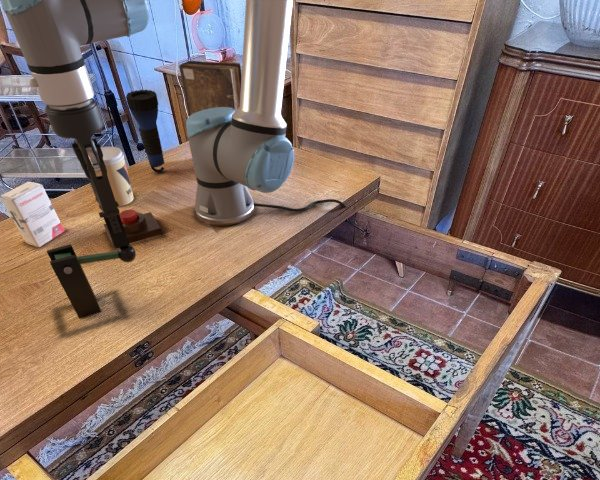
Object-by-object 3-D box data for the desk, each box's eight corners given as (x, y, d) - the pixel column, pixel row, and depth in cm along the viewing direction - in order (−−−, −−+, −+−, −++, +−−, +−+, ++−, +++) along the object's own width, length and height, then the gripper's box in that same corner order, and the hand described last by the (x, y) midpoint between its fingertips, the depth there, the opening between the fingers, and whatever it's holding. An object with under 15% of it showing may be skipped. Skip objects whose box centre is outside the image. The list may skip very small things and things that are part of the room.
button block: (153, 220, 114) (148, 204, 111) (163, 236, 109) (158, 220, 106) (106, 232, 111) (100, 217, 108) (114, 249, 106) (108, 234, 103)
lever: (134, 255, 88) (131, 239, 86) (139, 264, 87) (136, 248, 84) (58, 267, 83) (52, 250, 81) (61, 276, 81) (55, 259, 79)
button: (136, 214, 109) (133, 208, 107) (140, 222, 107) (138, 215, 105) (119, 219, 108) (117, 212, 106) (123, 226, 105) (121, 219, 104)
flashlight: (179, 172, 132) (161, 93, 116) (156, 180, 128) (135, 101, 113) (164, 164, 136) (145, 87, 120) (142, 172, 132) (119, 94, 117)
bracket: (114, 292, 95) (89, 233, 84) (124, 316, 90) (99, 256, 79) (56, 310, 91) (23, 250, 81) (64, 336, 86) (29, 276, 76)
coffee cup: (137, 205, 119) (123, 158, 110) (102, 210, 118) (84, 163, 109) (136, 189, 125) (121, 143, 116) (102, 194, 124) (85, 148, 114)
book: (194, 161, 136) (175, 63, 117) (206, 153, 140) (190, 56, 121) (240, 171, 131) (228, 69, 112) (252, 161, 135) (242, 62, 116)
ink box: (51, 226, 113) (28, 179, 104) (65, 231, 112) (43, 183, 102) (24, 243, 108) (-3, 195, 99) (38, 248, 107) (12, 200, 98)
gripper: (37, 93, 68) (94, 234, 87) (50, 120, 61) (109, 267, 79) (86, 85, 71) (132, 224, 89) (104, 110, 63) (150, 256, 81)
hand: (121, 244), depth 84 cm, fingers closed
